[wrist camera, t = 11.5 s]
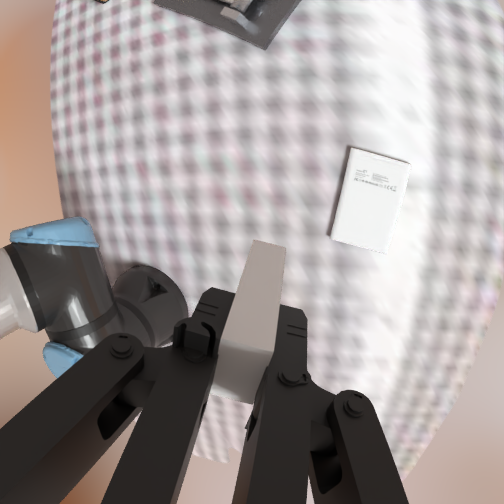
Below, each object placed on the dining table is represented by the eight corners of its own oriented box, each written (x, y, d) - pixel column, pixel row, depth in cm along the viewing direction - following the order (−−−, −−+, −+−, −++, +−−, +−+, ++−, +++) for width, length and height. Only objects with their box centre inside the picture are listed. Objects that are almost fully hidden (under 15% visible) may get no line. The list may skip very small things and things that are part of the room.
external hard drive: (330, 235, 43) (350, 147, 38) (385, 250, 41) (409, 163, 36) (329, 239, 41) (351, 147, 36) (387, 254, 40) (412, 164, 35)
